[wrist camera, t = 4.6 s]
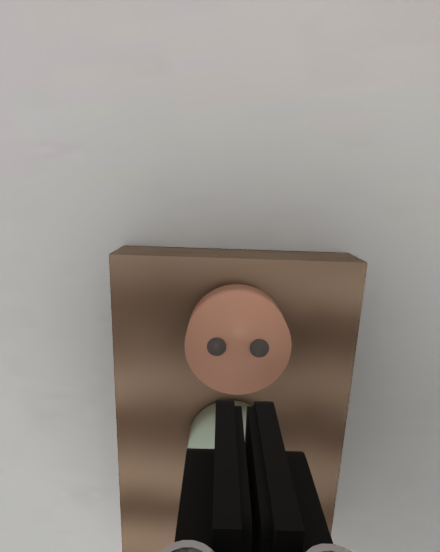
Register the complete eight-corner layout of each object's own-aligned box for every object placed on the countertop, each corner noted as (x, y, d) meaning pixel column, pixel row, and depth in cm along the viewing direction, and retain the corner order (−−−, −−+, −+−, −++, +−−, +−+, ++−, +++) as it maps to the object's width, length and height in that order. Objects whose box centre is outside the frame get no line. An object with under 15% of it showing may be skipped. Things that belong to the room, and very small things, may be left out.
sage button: (268, 472, 22) (273, 500, 20) (189, 469, 22) (185, 497, 20) (274, 401, 21) (279, 424, 19) (189, 398, 21) (186, 421, 19)
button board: (314, 533, 27) (325, 574, 24) (133, 527, 27) (123, 567, 24) (348, 253, 22) (367, 262, 19) (124, 245, 22) (109, 254, 19)
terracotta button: (280, 375, 19) (287, 397, 17) (188, 372, 19) (184, 393, 17) (287, 285, 18) (296, 298, 16) (188, 282, 18) (184, 294, 16)
